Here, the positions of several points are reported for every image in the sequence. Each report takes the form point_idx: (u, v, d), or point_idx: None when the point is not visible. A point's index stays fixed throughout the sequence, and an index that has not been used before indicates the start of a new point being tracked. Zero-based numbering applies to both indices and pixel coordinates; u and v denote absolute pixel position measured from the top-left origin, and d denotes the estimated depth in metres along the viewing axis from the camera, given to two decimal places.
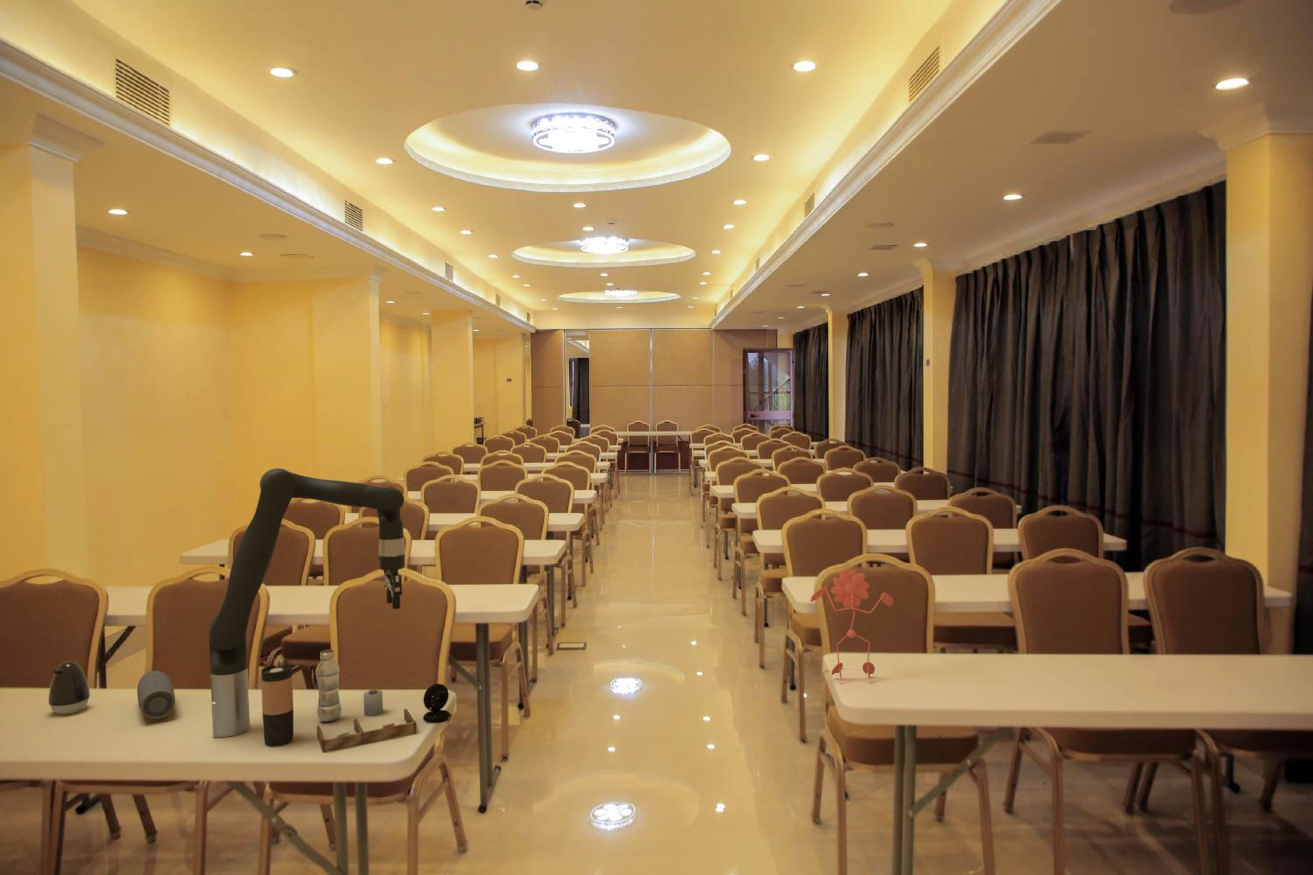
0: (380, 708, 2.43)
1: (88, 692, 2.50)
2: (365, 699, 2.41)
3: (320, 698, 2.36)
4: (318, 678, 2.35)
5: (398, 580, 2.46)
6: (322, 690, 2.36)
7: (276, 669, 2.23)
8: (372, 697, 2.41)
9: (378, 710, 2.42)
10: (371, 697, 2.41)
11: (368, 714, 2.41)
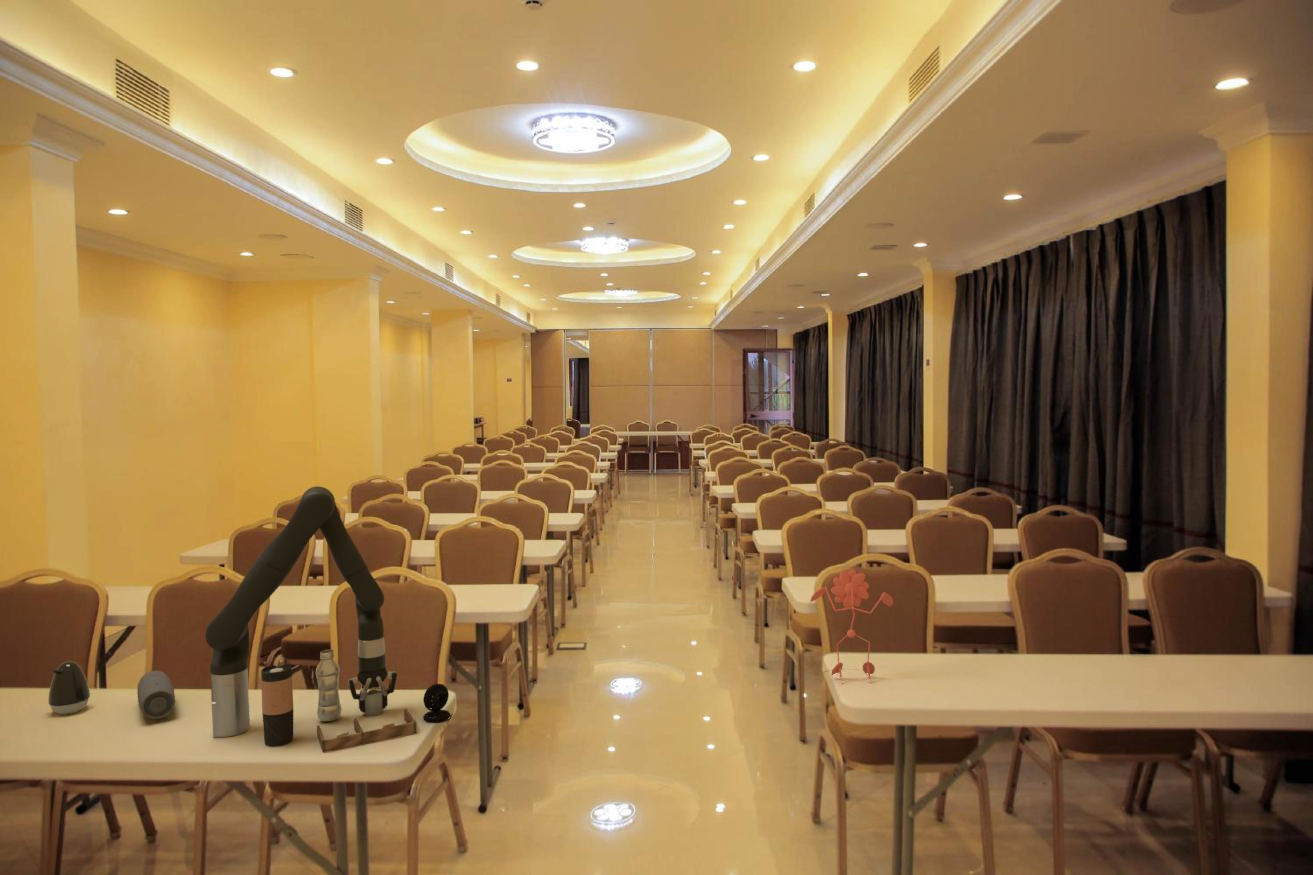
0: (380, 708, 2.43)
1: (88, 692, 2.50)
2: (365, 699, 2.41)
3: (320, 698, 2.36)
4: (318, 678, 2.35)
5: None
6: (322, 690, 2.36)
7: (276, 669, 2.23)
8: (372, 697, 2.41)
9: (378, 710, 2.42)
10: (371, 697, 2.41)
11: (368, 714, 2.41)
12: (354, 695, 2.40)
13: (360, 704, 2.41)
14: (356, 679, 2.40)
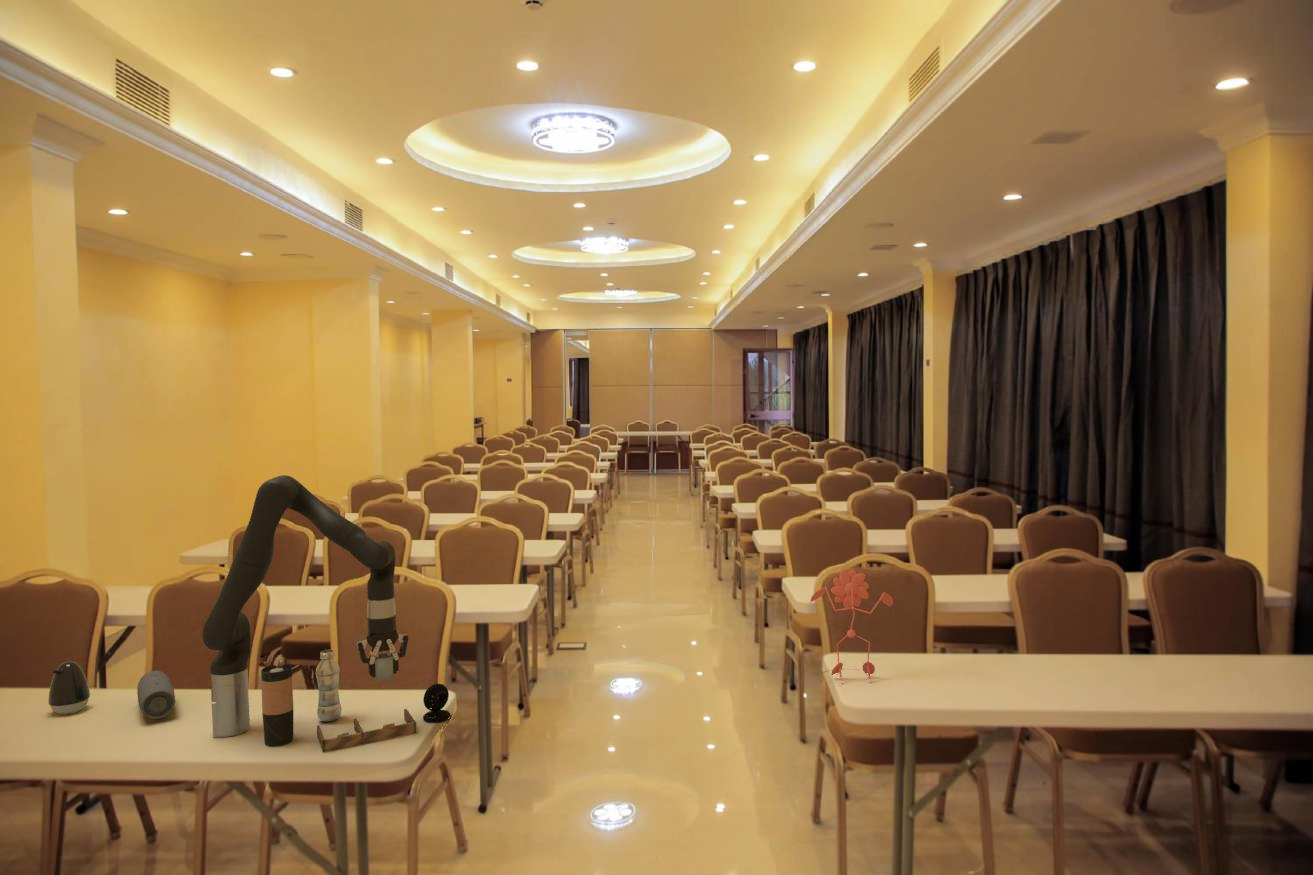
0: (391, 672, 2.29)
1: (88, 692, 2.50)
2: (375, 663, 2.28)
3: (320, 698, 2.36)
4: (318, 678, 2.35)
5: None
6: (322, 690, 2.36)
7: (276, 669, 2.23)
8: (382, 661, 2.27)
9: (389, 675, 2.28)
10: (381, 661, 2.27)
11: (378, 679, 2.27)
12: (363, 659, 2.26)
13: (370, 668, 2.27)
14: (365, 642, 2.27)
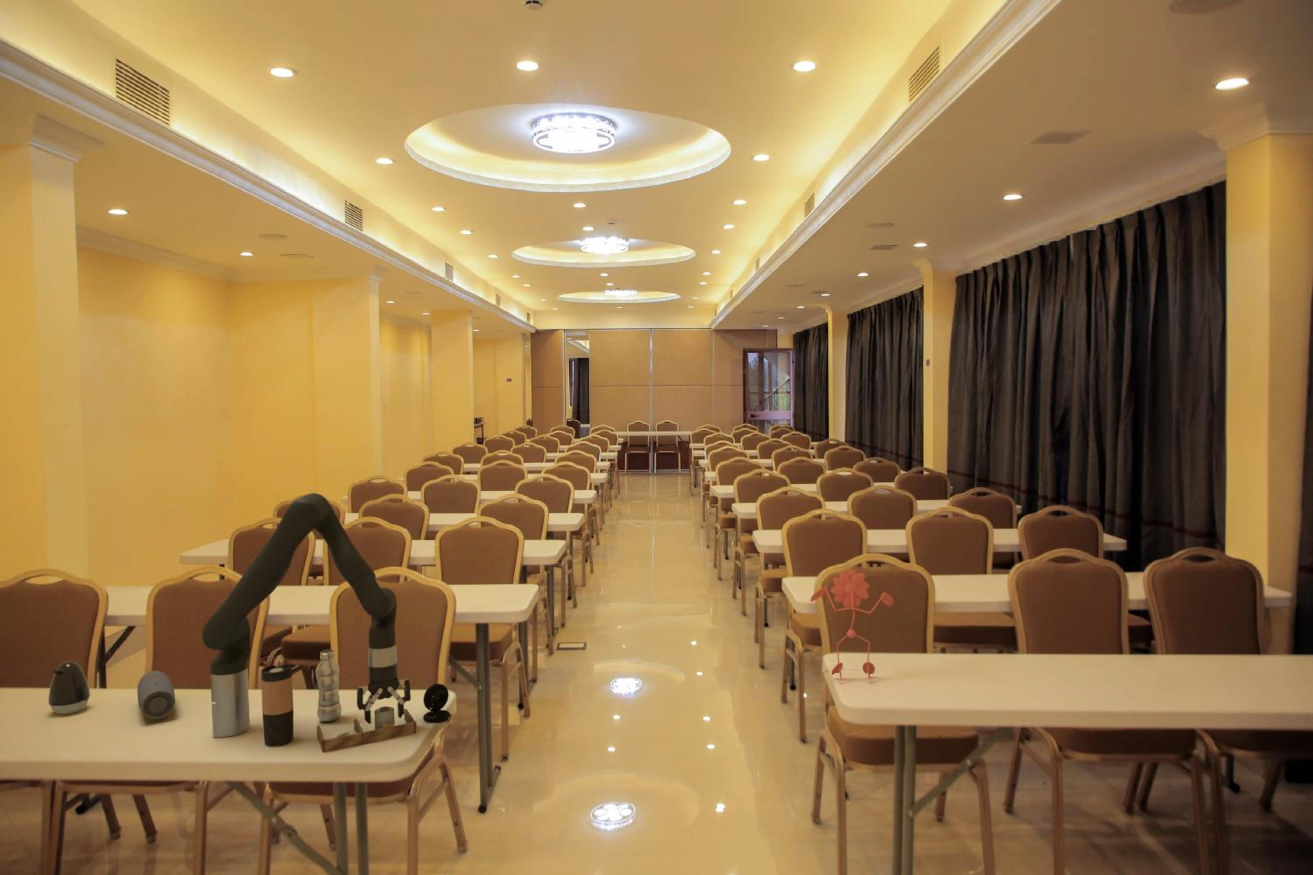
0: None
1: (88, 692, 2.50)
2: (376, 717, 2.27)
3: (320, 698, 2.36)
4: (318, 678, 2.35)
5: None
6: (322, 690, 2.36)
7: (276, 669, 2.23)
8: (383, 714, 2.27)
9: None
10: (382, 714, 2.27)
11: None
12: (360, 705, 2.25)
13: (366, 715, 2.26)
14: (366, 688, 2.26)
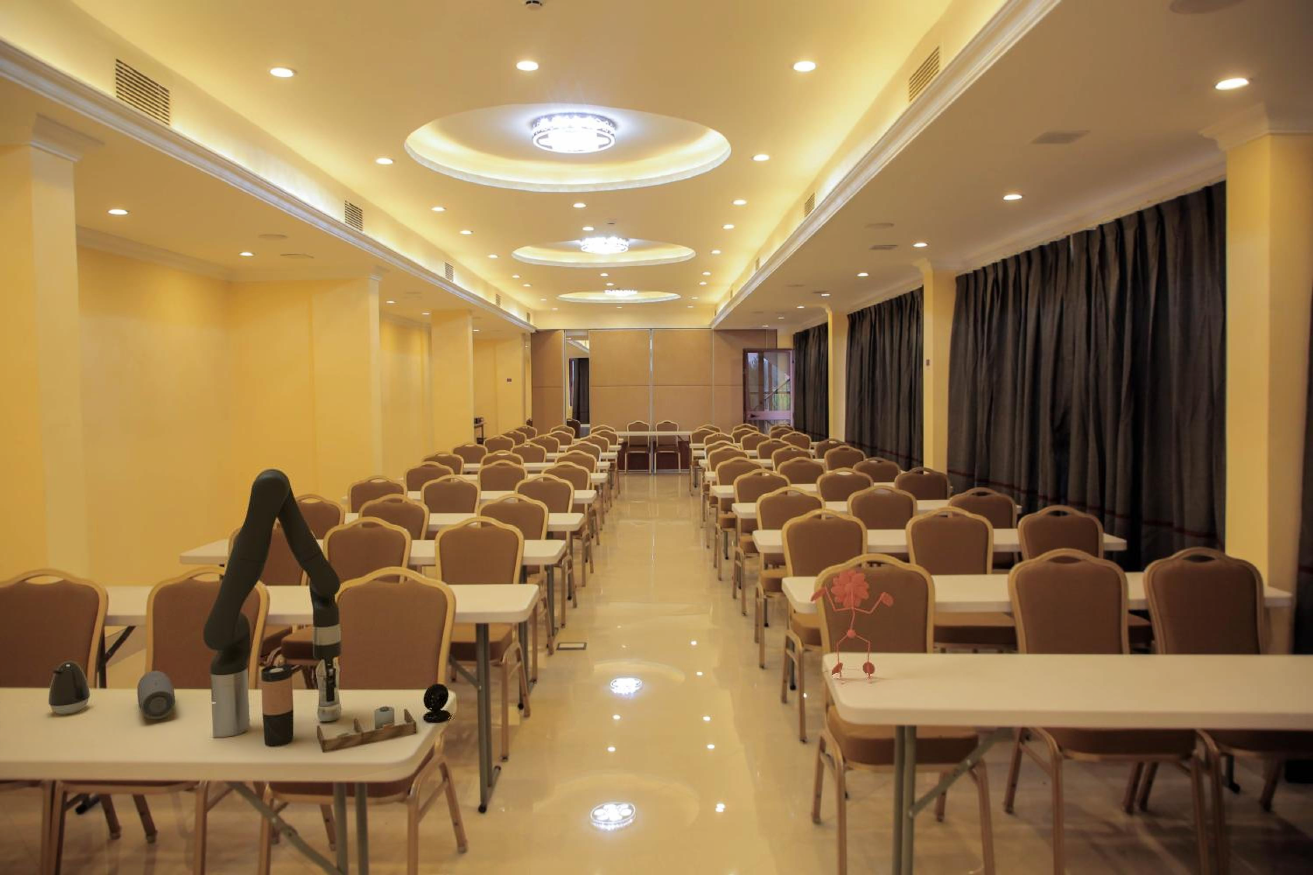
0: None
1: (88, 692, 2.50)
2: (376, 717, 2.27)
3: (320, 698, 2.36)
4: (318, 678, 2.35)
5: None
6: (322, 690, 2.36)
7: (276, 669, 2.23)
8: (383, 715, 2.27)
9: None
10: (382, 715, 2.27)
11: None
12: (335, 683, 2.34)
13: (332, 693, 2.35)
14: (331, 667, 2.34)
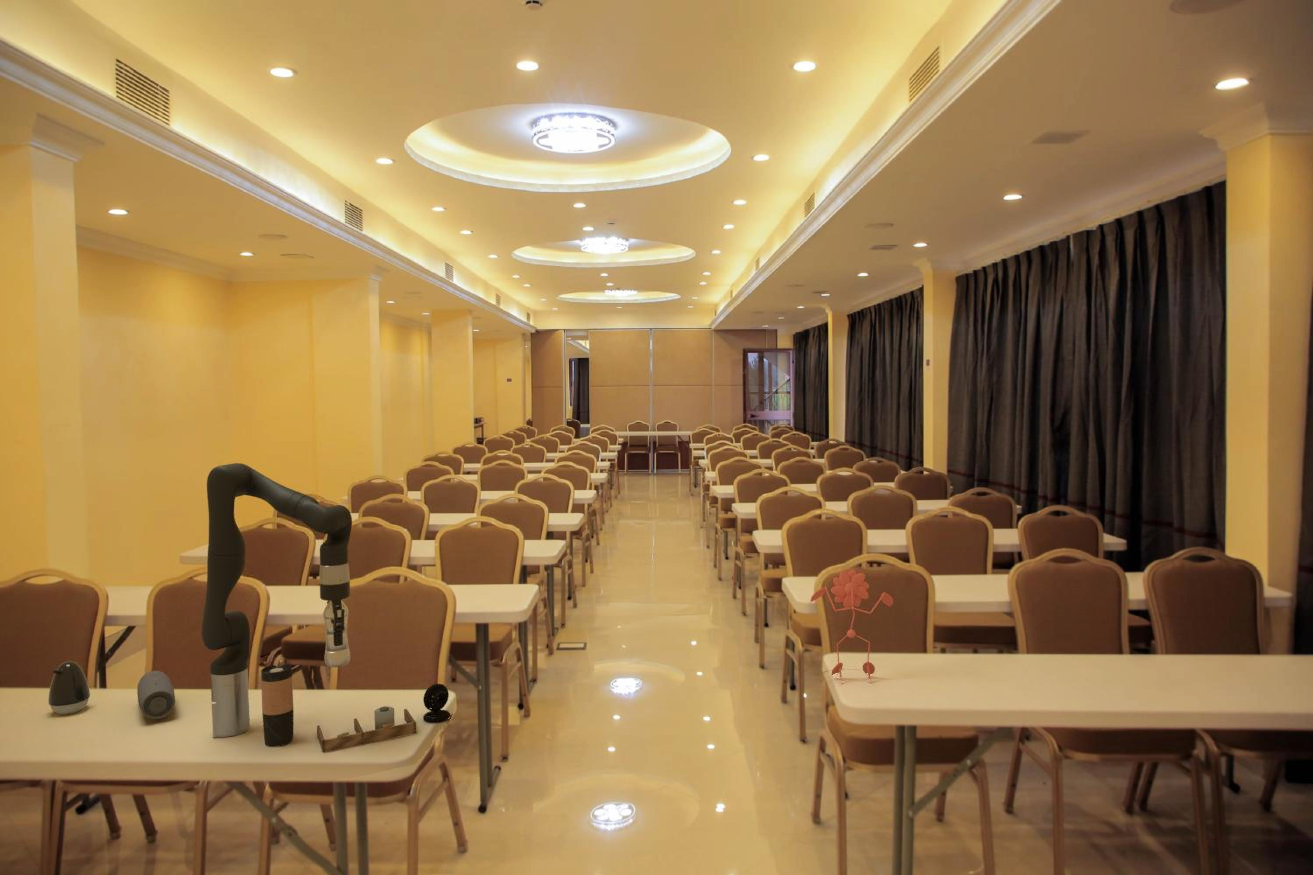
0: None
1: (88, 692, 2.50)
2: (376, 717, 2.27)
3: (328, 642, 2.21)
4: (326, 620, 2.20)
5: None
6: (330, 633, 2.20)
7: (276, 669, 2.23)
8: (383, 714, 2.27)
9: None
10: (382, 714, 2.27)
11: None
12: None
13: (341, 636, 2.20)
14: (339, 609, 2.19)
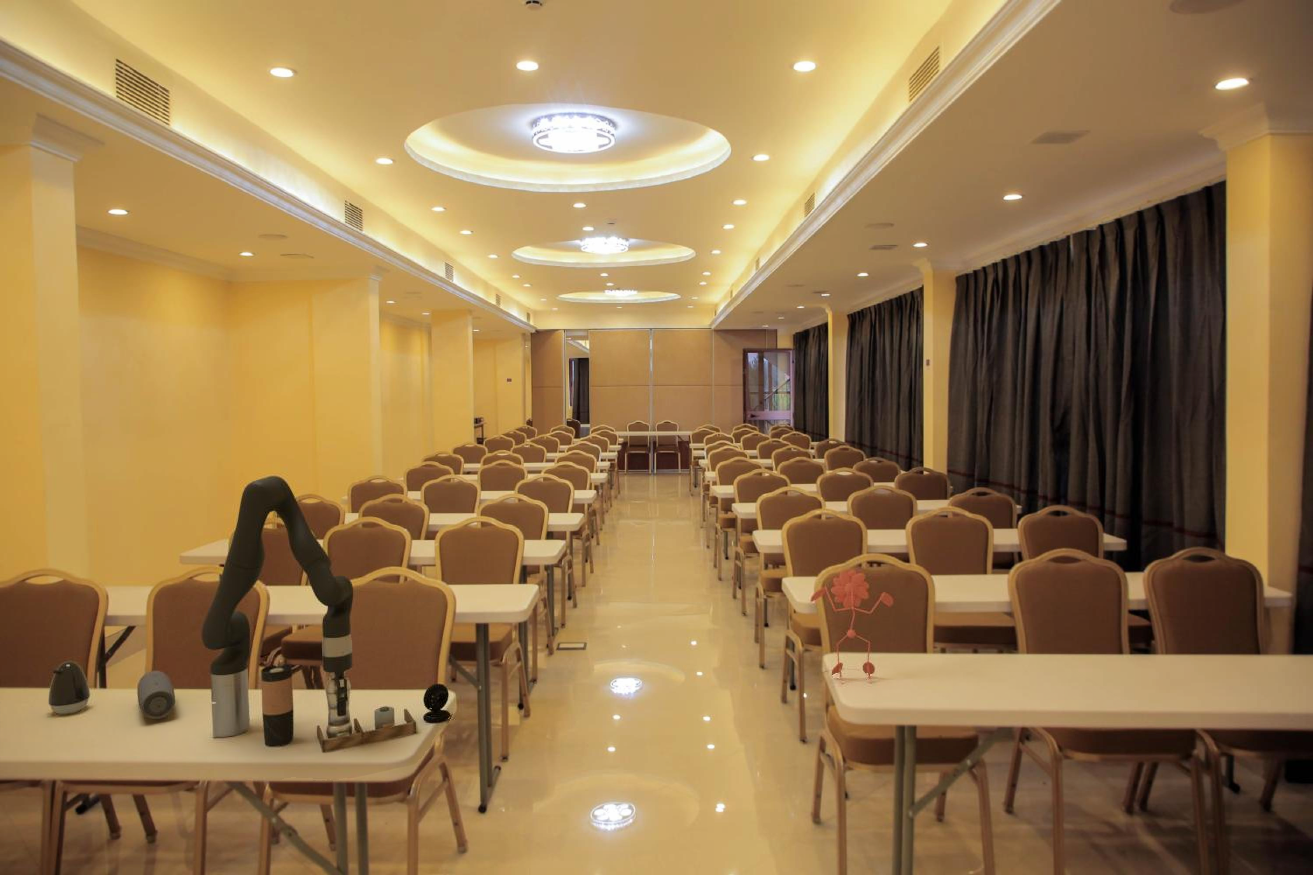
0: None
1: (88, 692, 2.50)
2: (376, 717, 2.27)
3: (329, 717, 2.21)
4: (328, 695, 2.21)
5: None
6: (332, 708, 2.21)
7: (276, 669, 2.23)
8: (383, 714, 2.27)
9: None
10: (382, 714, 2.27)
11: None
12: None
13: (344, 706, 2.19)
14: None
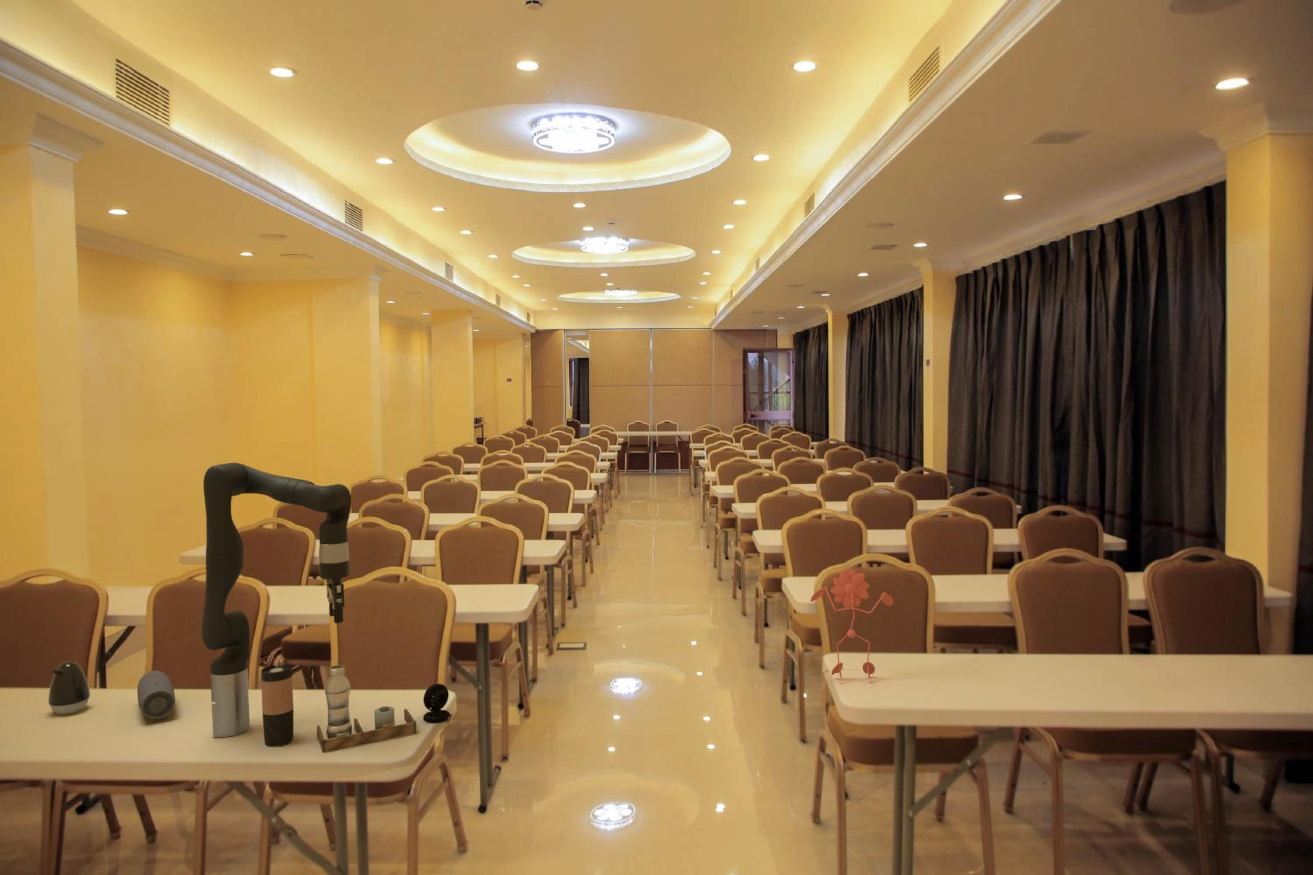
0: None
1: (88, 692, 2.50)
2: (376, 717, 2.27)
3: (329, 717, 2.22)
4: (327, 695, 2.21)
5: None
6: (331, 708, 2.21)
7: (276, 669, 2.23)
8: (383, 715, 2.27)
9: None
10: (382, 715, 2.27)
11: None
12: None
13: (341, 613, 2.18)
14: None
